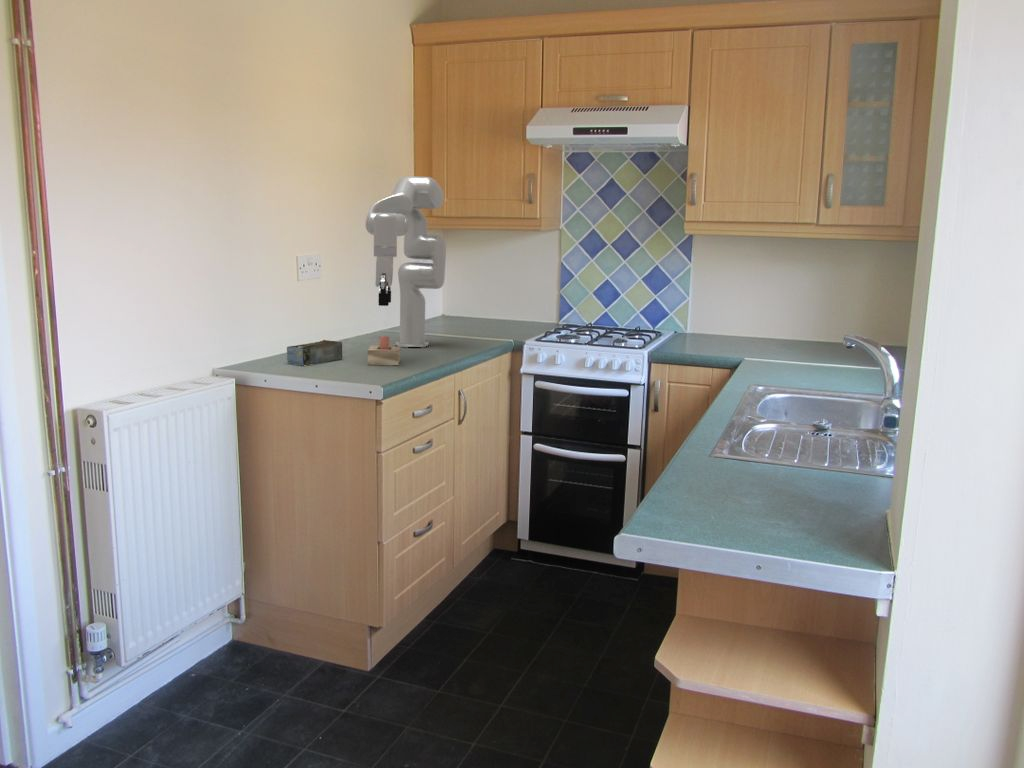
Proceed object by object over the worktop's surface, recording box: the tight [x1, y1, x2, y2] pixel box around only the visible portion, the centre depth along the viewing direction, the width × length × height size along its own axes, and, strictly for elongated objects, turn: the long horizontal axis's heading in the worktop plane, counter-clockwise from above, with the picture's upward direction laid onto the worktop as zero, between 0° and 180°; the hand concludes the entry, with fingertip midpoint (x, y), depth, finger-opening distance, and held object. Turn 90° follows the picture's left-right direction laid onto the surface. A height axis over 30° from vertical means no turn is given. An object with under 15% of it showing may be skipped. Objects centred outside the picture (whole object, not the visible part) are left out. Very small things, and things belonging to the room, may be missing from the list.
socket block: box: [367, 345, 401, 366], centre depth 290 cm, size 10×10×5 cm
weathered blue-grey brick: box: [286, 339, 343, 367], centre depth 288 cm, size 8×19×7 cm, turn 148°
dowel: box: [379, 335, 390, 350], centre depth 289 cm, size 3×3×9 cm
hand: (384, 303), depth 286 cm, fingers open, 9 cm apart
